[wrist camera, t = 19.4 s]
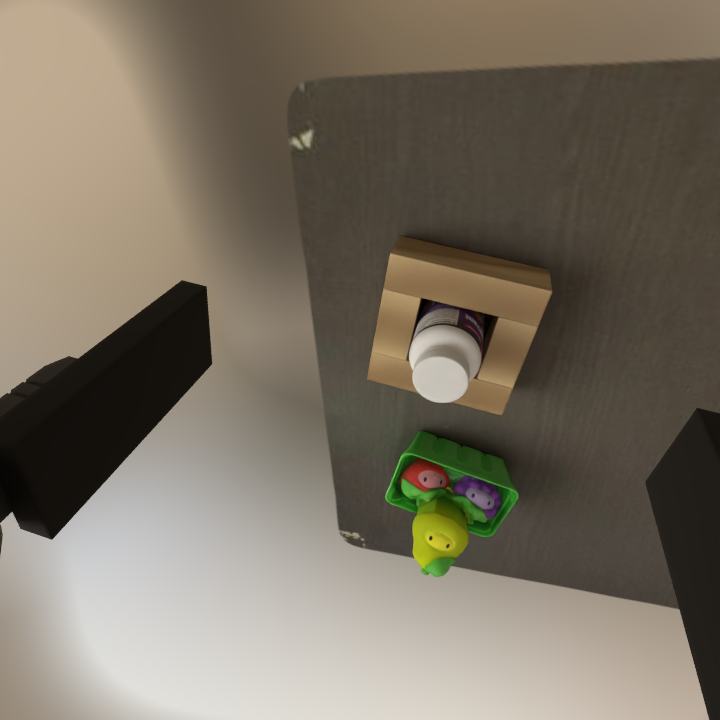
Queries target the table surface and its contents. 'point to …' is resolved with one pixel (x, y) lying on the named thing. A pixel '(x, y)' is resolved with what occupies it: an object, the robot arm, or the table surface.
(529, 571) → the table surface
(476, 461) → the fruit basket
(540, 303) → the block
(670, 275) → the table surface
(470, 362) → the pill bottle
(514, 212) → the table surface
